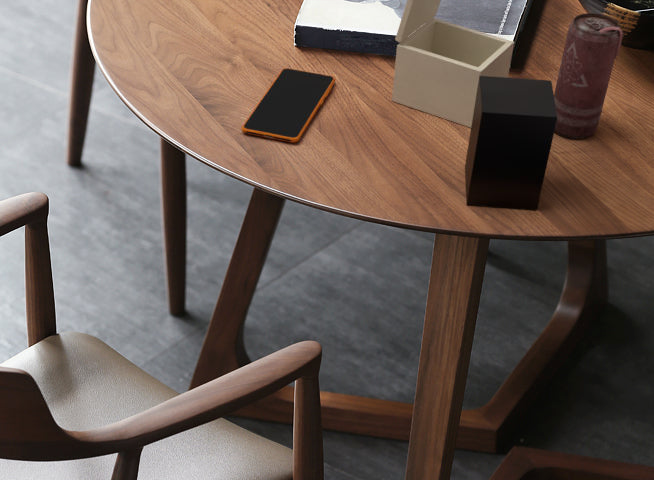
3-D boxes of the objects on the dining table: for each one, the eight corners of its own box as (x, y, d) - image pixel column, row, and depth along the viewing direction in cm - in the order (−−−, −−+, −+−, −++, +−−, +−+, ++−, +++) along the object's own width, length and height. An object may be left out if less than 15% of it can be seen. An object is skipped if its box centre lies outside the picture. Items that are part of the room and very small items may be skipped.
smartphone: (239, 133, 133) (239, 127, 132) (283, 72, 144) (283, 66, 144) (298, 145, 131) (298, 138, 131) (337, 82, 143) (337, 76, 142)
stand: (532, 172, 128) (551, 80, 120) (537, 210, 122) (557, 117, 114) (464, 167, 129) (479, 75, 120) (466, 205, 123) (482, 111, 115)
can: (595, 144, 133) (622, 38, 124) (544, 134, 135) (567, 28, 125) (601, 120, 137) (628, 16, 128) (551, 111, 139) (574, 7, 129)
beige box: (504, 97, 141) (514, 41, 136) (471, 128, 135) (481, 71, 130) (426, 72, 146) (433, 17, 140) (391, 101, 140) (397, 45, 134)
